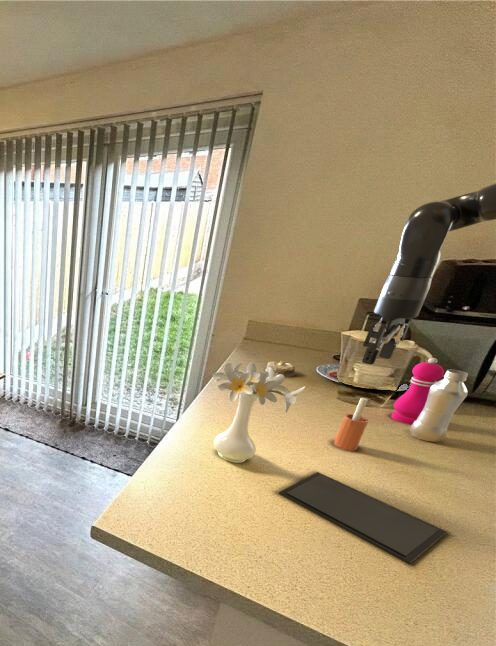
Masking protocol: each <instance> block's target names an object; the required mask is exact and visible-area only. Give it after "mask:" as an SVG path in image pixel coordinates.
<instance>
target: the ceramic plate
mask: <svg viewBox="0 0 496 646" xmlns="http://www.w3.org/2000/svg"><path fill="white" fill-rule="evenodd" d="M339 364H340V363H326V364H321V365H319V366H317V367H316V372H317V373H318V374H319V375H320V376H321V377H324V378H326V379H328V380H330V381H334V382H336V383H339V382H338V378H337V375H338V368H339ZM407 388H408V385H407V384H403V385H401V386H400V387H399V389H398V390H397V391H396V392H403V391H408V389H407Z"/></svg>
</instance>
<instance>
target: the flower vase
mask: <svg viewBox="0 0 496 646" xmlns="http://www.w3.org/2000/svg"><path fill="white" fill-rule="evenodd" d="M242 365H243V363H242V362H241V363H238V364H236V365H235V366H234V368H233V363H231V362H229V363H227V364H225V365H224V368H223V372H222V371H221V372H215V373H213V374H212V375H211V377H212V378H217V379H216V380H215V381H214V383H220V382H222V383H220V384H219V385H218V386H217V389H218V390H220V391H223V392H228V391H230V392H229V395H228V397H229V401H230V402H235V401H237V400H238V404H237V409H236V411H235V414H234V418H233V421H232V423H231V424H230V426H229V427H228V428H227V429H226V430H225V431H222V432H220V433H218V434H217V435H216V436H215V438H214V440H213V446H214V448H215V450H216V451H217V454H218V456H219V457H220V458H221V459H223V460H225V461H227V462H231V463H235V464H236V463H237V464H239V463H244V462H245V461H246V460H248V459H251V458H252V457H254V455H255V454H256V452H257V447H256V443H255V442H254V440H253V439H252V438H251V436H250V434H249V425H250V424H249V423H250V418H251V415H252V410H253V407H254V405H255V403H256V401H257V399H258V403H259V404H260V405H261V406H263V405H264V404H265V403H266V399H267V400H268V401H269V402H272V403H277V402H278V399H277V396H276V395H275V394H278V395H279V396H282V397H283V401H284V415H285V416H286V415H287V413H288V411H289V409H290V407H291V406H293V405H295V404H296V402H297V400H298V397H297V396H298V395H299V394H300V393H301V392H303V390H304V389H306V387H307V386H306V385H305V386H303V387H300V388H298V389H296V390H293V391H290V390H289V388H288V387H286V386H284V385H283V383H284V382H285V380H286V377H285V376H284V375H282V374H279V375H274V372H273V370H272V368H270V367H269V372H267V371H266V370H263V371H259V372H257V371H258V369H257V365H256V364H255V363H254V362H250V363H248V365H247V367H246V371H244V370H241V369H240V368H241V367H242ZM224 381H229V382H224ZM251 386H252V387H251Z"/></svg>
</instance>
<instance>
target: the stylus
mask: <svg viewBox="0 0 496 646" xmlns="http://www.w3.org/2000/svg"><path fill="white" fill-rule="evenodd" d="M367 403H368V398H365V397H360V399H359V401H358V403H357V406H356V408H355V411H354V413H353V414H354V416H353V418H352V420H356V421H359V420H360V418H361V416H362V414H363V412H364V410H365V408H366V405H367Z"/></svg>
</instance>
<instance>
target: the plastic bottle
mask: <svg viewBox="0 0 496 646" xmlns="http://www.w3.org/2000/svg"><path fill="white" fill-rule="evenodd" d="M468 376H469V373H468V372H466V371H463V370H459V369H452V368H451V369H450V368H449V369H447V370H446V371H445V372H444V374H443V378H441V379H439V380H437V382H436V383H434V384H433V385H432V386H431V387H430V391H429V394H428V398H427V401H426V404H425V406H424V408H423V410H422V412H421V413H420V415H419V416H418V418H417V419H416V420H415V421H414V423H413V424H410V428H409V432H410V434H411V436H413V437H415V438H416V439H419V440H421V441H426V442H431V443H439V442H441V441H443V439H445V437H446V436H447V434H448V429H449V428H448V427H449V425H450V422H451V420H452V417H453V415H454V414H455V412H456V411H457V409H458V408H459V407H460V405H461V404H462V403H463V401H464V400H466V398H467V397H468V389H467V386H466V384H465V383H464V382H466V381H467V378H468Z"/></svg>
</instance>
